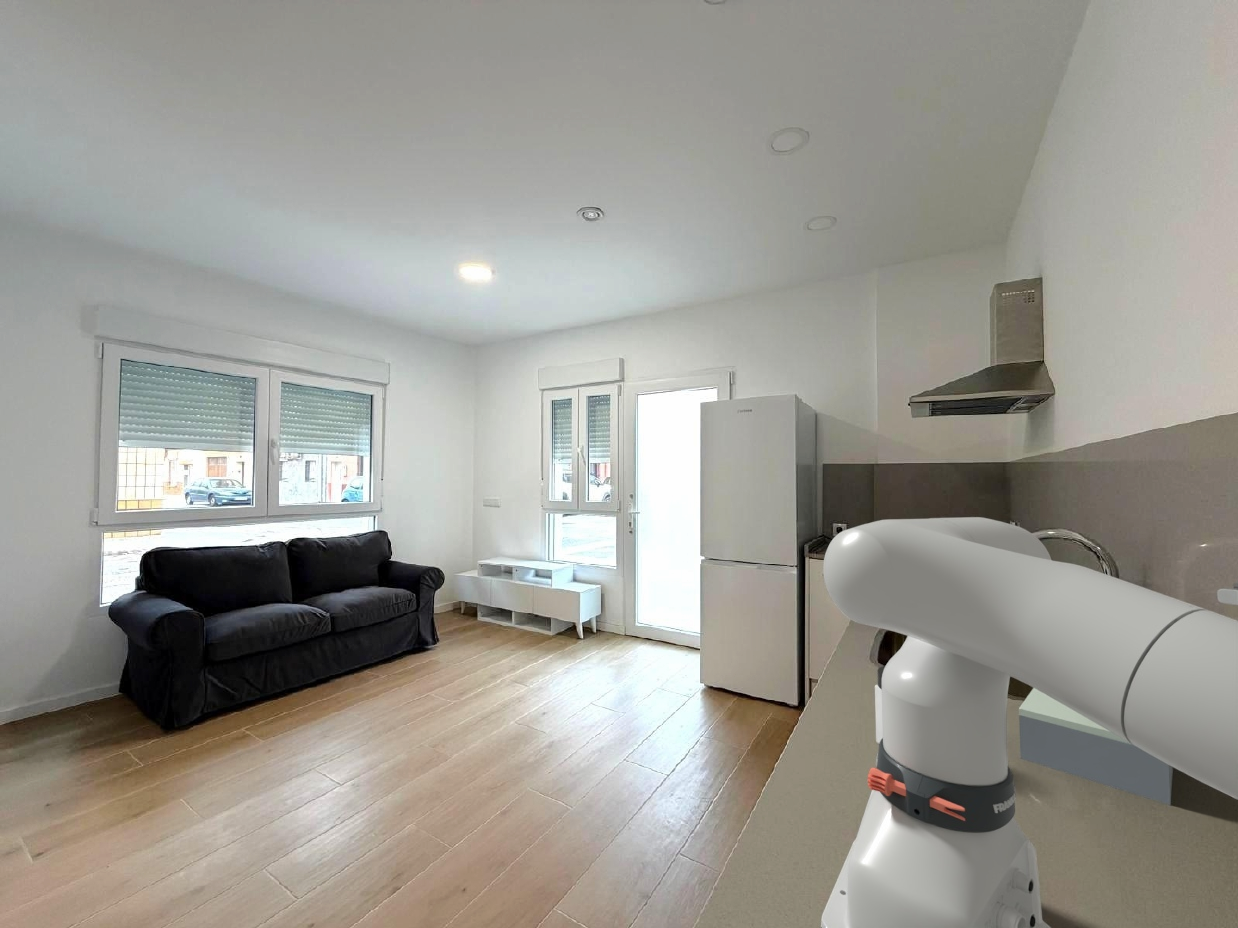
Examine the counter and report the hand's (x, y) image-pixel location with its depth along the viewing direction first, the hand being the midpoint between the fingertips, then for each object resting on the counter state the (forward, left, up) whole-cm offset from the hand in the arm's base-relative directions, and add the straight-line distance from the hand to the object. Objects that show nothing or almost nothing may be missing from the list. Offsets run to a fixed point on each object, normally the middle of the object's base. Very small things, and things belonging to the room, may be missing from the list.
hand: (1226, 591), depth 69 cm
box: (+2, +14, -29) cm, 32 cm away
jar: (-16, +35, -29) cm, 48 cm away
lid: (+2, +14, -23) cm, 27 cm away
